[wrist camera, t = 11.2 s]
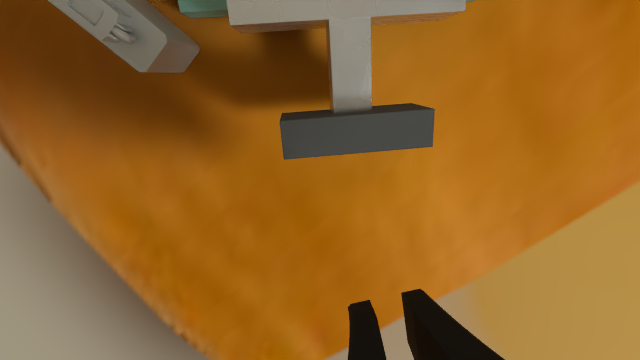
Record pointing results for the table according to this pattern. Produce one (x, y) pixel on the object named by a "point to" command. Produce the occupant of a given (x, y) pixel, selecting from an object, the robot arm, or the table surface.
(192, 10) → the press
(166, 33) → the lighter
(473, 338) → the robot arm
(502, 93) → the table surface
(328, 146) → the ram
